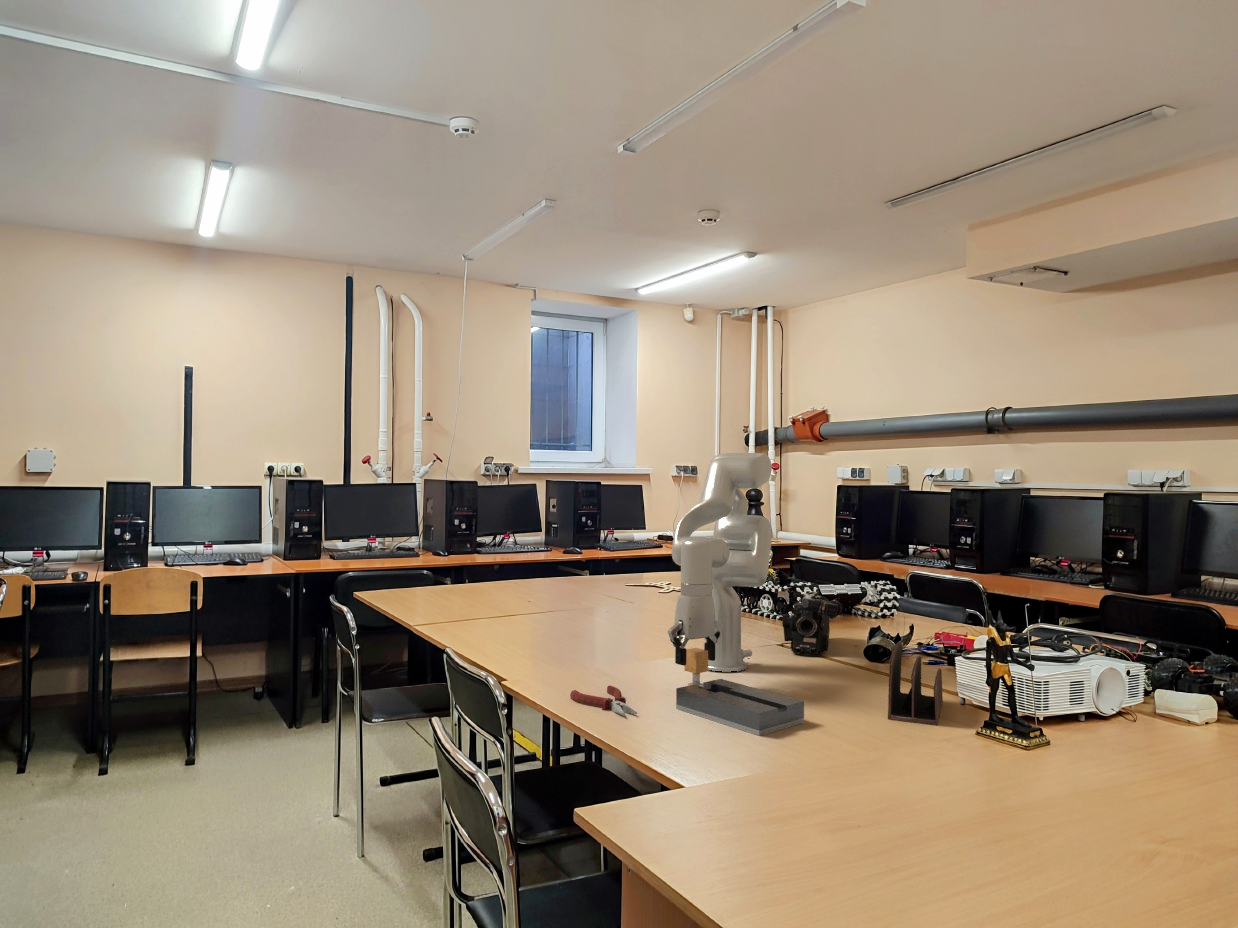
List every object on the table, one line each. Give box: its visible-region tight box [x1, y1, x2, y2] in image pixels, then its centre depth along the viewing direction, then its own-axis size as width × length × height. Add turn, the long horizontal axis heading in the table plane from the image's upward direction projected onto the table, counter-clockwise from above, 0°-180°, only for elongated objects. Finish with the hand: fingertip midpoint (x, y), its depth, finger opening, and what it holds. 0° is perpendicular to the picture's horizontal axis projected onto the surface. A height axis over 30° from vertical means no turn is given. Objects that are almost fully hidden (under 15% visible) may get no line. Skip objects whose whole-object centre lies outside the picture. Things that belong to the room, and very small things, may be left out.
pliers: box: [569, 685, 638, 717], centre depth 181 cm, size 12×20×3 cm, turn 27°
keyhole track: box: [675, 678, 805, 737], centre depth 174 cm, size 14×24×4 cm, turn 39°
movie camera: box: [781, 591, 844, 657], centre depth 244 cm, size 31×18×18 cm, turn 155°
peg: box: [683, 647, 709, 687], centre depth 196 cm, size 4×4×10 cm
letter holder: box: [887, 641, 944, 726], centre depth 179 cm, size 10×20×14 cm, turn 155°
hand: (695, 662), depth 195 cm, fingers open, 9 cm apart
